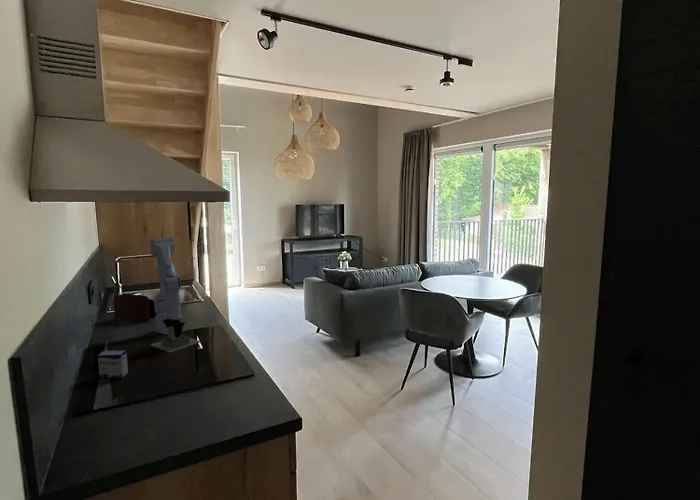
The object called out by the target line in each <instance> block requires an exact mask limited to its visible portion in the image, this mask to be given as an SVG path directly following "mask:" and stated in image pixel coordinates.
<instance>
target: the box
mask: <svg viewBox="0 0 700 500" xmlns="http://www.w3.org/2000/svg"><path fill="white" fill-rule="evenodd" d="M127 353H128V352H127V349H120V350H119V349H118V350H103V351H102V352H101V353H99V354H98V355H97V362H98V375H99V376H98V377H99V379H100V380H103V379H120V378H121V379H122V378H124V377H125V376H126V375H127V374H128V373H129V368H128V367H129V366H128V356H127Z"/></svg>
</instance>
